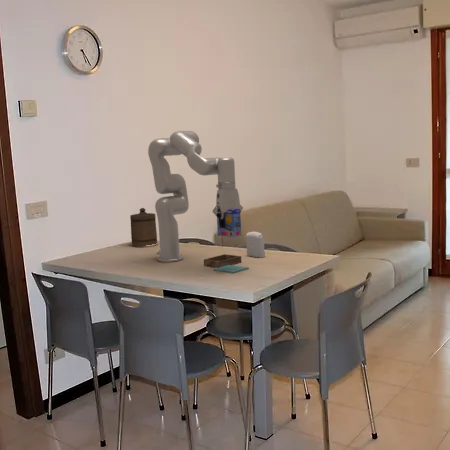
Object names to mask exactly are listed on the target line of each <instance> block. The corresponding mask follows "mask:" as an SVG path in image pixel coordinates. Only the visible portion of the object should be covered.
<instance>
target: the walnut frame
mask: <svg viewBox="0 0 450 450" xmlns="http://www.w3.org/2000/svg"><path fill="white" fill-rule="evenodd" d="M240 263H242V256H241V255H235V254H226V253H225V254H224V253H223V254H221V255H216V256H212V257H208V258H204V259H203V266H204V267H210V268H219V267H222V266H226V265H234V266H235V265H237V264H240Z"/></svg>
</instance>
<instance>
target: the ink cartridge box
mask: <svg viewBox="0 0 450 450" xmlns="http://www.w3.org/2000/svg"><path fill="white" fill-rule="evenodd" d="M218 213H219V212H218ZM223 219H224V220H225V228H220V226H219V219H218V217H217V216H216V225H217V226H216V227H217V236H218V237H226V238H227V237H229V238H235V237H241V236H242V223H241V222H242V221H241V213H240V209H238V208H237V209H229V210H228V212H227V213H225V214H224V217H223Z"/></svg>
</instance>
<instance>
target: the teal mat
mask: <svg viewBox="0 0 450 450" xmlns="http://www.w3.org/2000/svg"><path fill="white" fill-rule="evenodd" d="M246 270H249V266H248V267H247V266H241V265H235V264H234V265H226V266H222V267H219V268H216V267H214V268H213V271H217V272H223V273H231V274H235V273H239V272H243V271H246Z"/></svg>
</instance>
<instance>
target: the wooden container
mask: <svg viewBox="0 0 450 450" xmlns="http://www.w3.org/2000/svg"><path fill="white" fill-rule="evenodd" d="M156 217H157V216H156V213H152V212H151V213H150V212H149V213H148V212H146V208H144V207H141V208H140V209H139V213H133V214H131V215H130V234H131V235H130V237H131V246H132V245H133V246H146V245H152V244H156V243H157V244H158V233H157V221H156V219H157V218H156ZM133 246H132V247H133Z"/></svg>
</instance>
